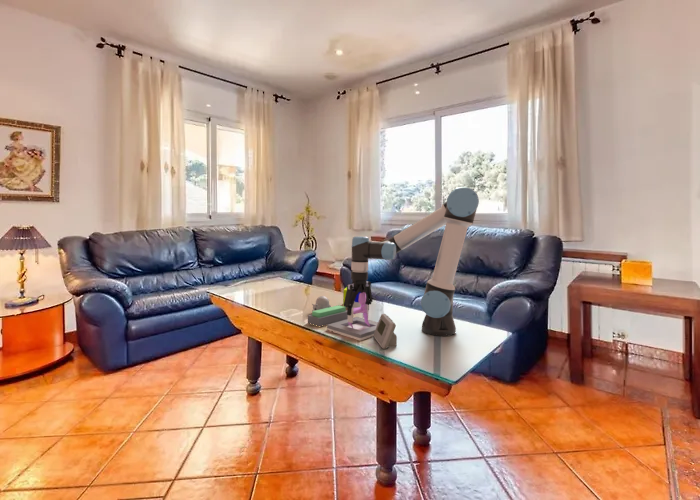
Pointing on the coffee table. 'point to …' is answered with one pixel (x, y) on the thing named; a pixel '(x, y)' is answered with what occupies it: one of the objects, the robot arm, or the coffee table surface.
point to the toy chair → (361, 308)
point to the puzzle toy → (356, 302)
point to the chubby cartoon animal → (321, 303)
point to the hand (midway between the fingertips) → (358, 320)
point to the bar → (328, 311)
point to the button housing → (327, 318)
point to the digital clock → (385, 332)
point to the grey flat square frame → (354, 328)
